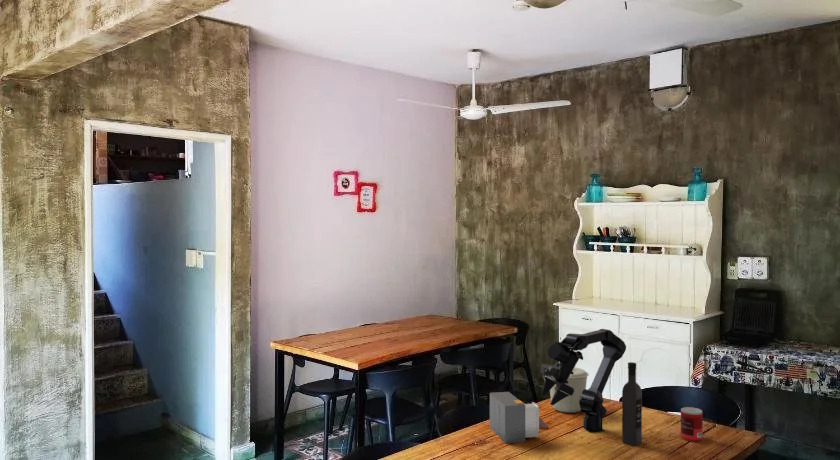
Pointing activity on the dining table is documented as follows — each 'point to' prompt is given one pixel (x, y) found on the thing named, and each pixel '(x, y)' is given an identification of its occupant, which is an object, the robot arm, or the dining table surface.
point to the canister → (572, 402)
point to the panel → (531, 420)
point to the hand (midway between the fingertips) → (547, 400)
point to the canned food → (691, 424)
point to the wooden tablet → (542, 424)
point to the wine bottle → (632, 409)
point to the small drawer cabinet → (507, 417)
